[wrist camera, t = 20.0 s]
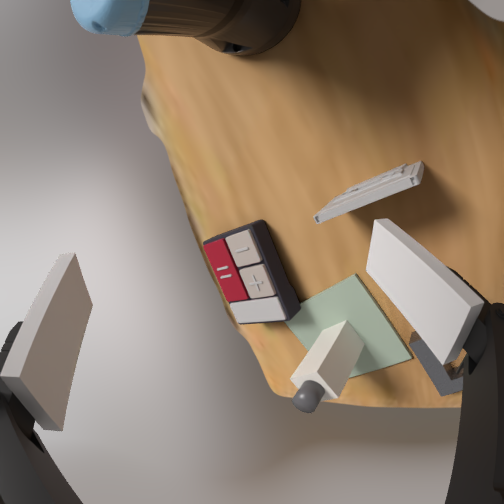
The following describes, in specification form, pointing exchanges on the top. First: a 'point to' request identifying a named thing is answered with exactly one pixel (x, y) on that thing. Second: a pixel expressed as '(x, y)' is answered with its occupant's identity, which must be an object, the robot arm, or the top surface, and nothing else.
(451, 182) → the top surface
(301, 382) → the plug
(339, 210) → the cassette
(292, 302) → the calculator
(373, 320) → the mat
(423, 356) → the socket
